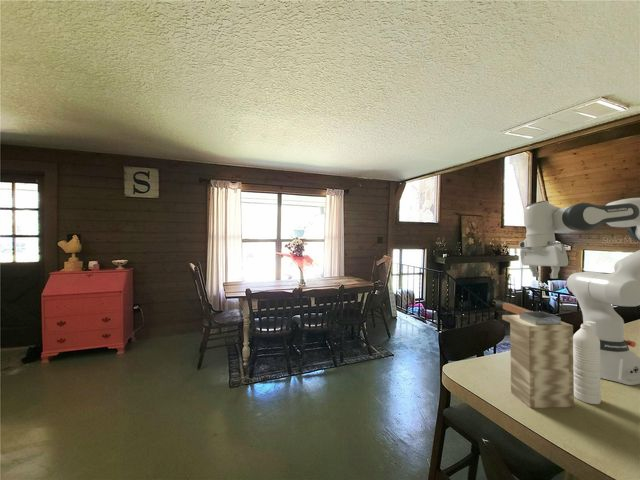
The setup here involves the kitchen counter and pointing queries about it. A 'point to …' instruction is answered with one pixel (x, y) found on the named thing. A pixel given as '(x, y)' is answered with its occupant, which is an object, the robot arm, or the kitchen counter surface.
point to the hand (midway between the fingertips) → (544, 277)
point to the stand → (541, 363)
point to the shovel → (533, 315)
